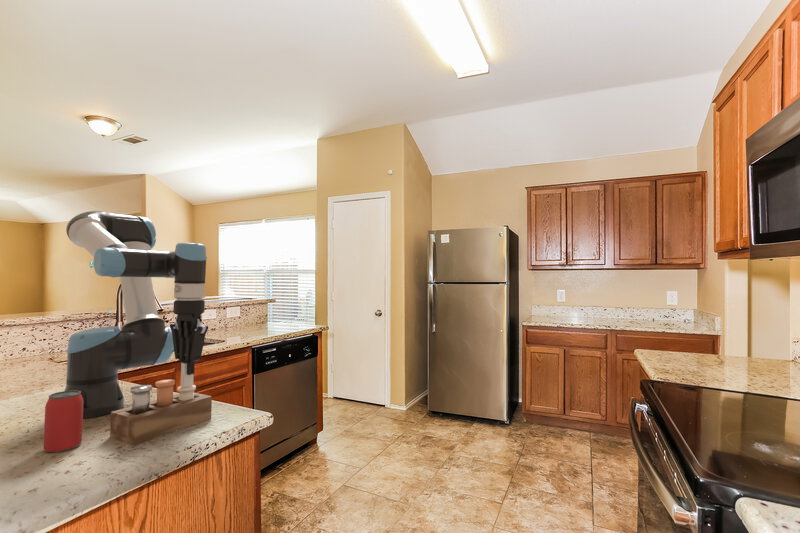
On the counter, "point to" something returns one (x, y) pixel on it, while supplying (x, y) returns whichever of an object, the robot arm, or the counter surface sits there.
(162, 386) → the peach round knob
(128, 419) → the button block
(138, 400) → the plunger grey
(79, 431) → the beer can
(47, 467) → the counter surface
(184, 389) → the plunger white
